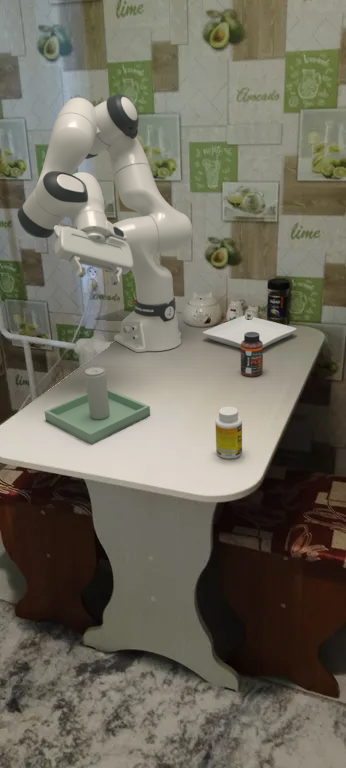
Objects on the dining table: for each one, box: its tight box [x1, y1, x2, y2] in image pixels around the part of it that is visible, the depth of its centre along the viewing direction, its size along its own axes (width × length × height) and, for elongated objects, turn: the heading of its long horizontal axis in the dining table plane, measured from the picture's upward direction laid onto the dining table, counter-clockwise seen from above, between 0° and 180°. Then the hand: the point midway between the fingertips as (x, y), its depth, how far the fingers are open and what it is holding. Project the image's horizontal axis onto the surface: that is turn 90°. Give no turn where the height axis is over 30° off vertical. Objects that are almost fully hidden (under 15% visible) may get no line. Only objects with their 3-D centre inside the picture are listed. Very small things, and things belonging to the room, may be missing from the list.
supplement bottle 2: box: [240, 332, 264, 378], centre depth 174 cm, size 6×6×11 cm
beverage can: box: [84, 366, 110, 420], centre depth 154 cm, size 5×5×12 cm
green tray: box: [44, 388, 151, 445], centre depth 156 cm, size 18×18×3 cm
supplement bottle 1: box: [215, 406, 243, 460], centre depth 137 cm, size 6×6×10 cm
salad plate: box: [202, 315, 297, 349], centre depth 200 cm, size 21×21×3 cm
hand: (98, 279), depth 153 cm, fingers open, 8 cm apart
